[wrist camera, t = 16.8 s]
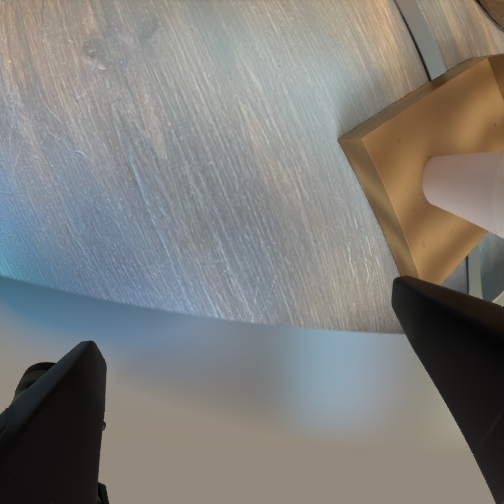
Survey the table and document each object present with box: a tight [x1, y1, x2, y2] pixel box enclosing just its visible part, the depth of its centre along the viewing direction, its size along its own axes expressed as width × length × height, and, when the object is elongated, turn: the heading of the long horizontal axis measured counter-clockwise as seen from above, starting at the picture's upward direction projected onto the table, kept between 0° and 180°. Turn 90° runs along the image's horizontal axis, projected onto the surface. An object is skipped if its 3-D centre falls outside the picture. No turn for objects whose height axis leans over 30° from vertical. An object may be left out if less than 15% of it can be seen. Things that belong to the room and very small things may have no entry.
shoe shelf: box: [338, 54, 504, 285], centre depth 20 cm, size 14×20×7 cm
